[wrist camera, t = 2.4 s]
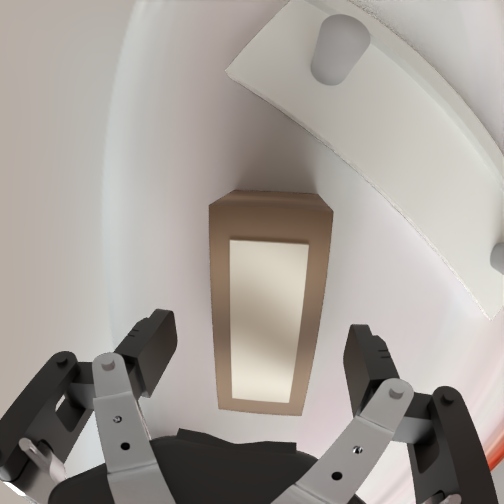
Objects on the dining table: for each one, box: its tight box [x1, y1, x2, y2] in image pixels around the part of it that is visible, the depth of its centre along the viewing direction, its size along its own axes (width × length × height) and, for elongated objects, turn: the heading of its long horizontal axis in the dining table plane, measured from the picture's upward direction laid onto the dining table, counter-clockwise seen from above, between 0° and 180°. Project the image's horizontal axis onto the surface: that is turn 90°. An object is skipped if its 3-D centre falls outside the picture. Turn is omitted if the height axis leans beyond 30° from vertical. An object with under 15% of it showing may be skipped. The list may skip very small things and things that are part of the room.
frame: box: [209, 190, 333, 416], centre depth 16 cm, size 12×5×6 cm, turn 179°
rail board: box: [225, 0, 504, 321], centre depth 12 cm, size 8×26×6 cm, turn 53°
